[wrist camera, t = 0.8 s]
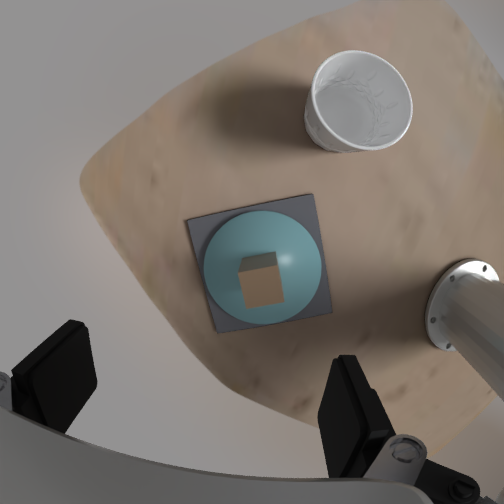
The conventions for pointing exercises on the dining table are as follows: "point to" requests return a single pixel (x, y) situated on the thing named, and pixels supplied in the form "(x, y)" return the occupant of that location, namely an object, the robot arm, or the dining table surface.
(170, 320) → the dining table surface
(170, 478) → the robot arm
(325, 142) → the white cup
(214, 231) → the mat
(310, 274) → the lid
